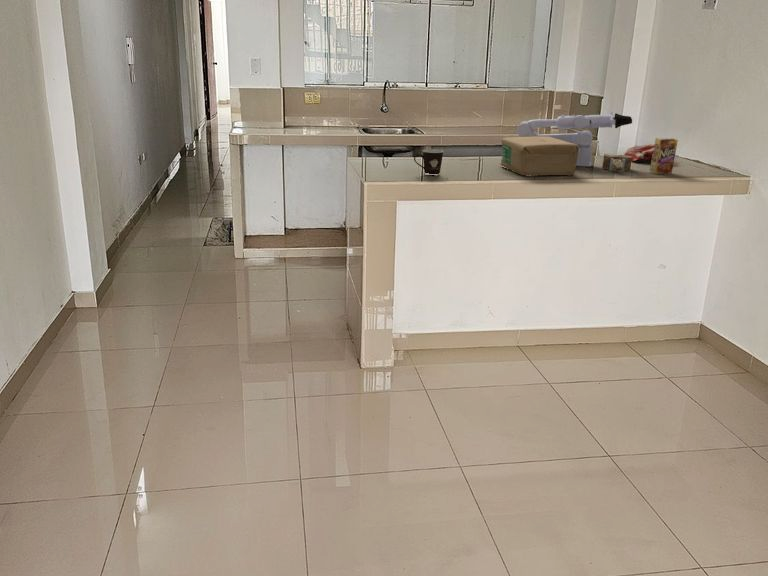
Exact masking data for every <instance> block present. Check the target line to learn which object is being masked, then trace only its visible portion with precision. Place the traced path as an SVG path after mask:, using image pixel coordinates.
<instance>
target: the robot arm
mask: <svg viewBox="0 0 768 576" xmlns="http://www.w3.org/2000/svg"><path fill="white" fill-rule="evenodd" d="M631 124H633V118H632V116H629V115H623V114H619V113H616V112H615V113H614V116H613V111H610V113H609V114H590V115H581V114H577V115H576V114H572V115H565V114H561V115H560V116H558V117H557V118H555V119H546V118H545V119H544V118H543V119H530V120H523V121H521V122H520V123H519V124H518V125H517V127H516V132H517V134H518V137H536V136H550V137H552V138H556V139H559V140H562V141H566V142H569V143H573V144H576V145H577V146H578V147H579V148H578V157H577V163H576V167H587V168H588V167H590V168H591V167H592V163H591V162H592V155H593V148H594V147H593V146H594V145H593V144H592V143H593V139H594V137H593V133H592V132H591V131H590V130H588V129H594V128H595V129H596V128H597V129H599V128H601V129H602V128H611V129H612V128H613V125H614V128H615V129H617V128H620V127H623V126H628V125H631ZM549 127H556V128H557V129H558V130H564V129H565V130H566V129H567V130H569V129H573V128H576V129H578V130H581V131H580V132H572V133H570V132H569V133H546V134H545V133H543V134H541V133H540V134H538V132H537V131H535V130H536V129H538V128H549ZM584 128H588V129H587V130H586V129H584ZM582 129H584V130H582Z"/></svg>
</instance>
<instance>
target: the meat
mask: <svg viewBox="0 0 768 576" xmlns="http://www.w3.org/2000/svg"><path fill="white" fill-rule="evenodd" d="M654 144H655V143H649V144H648V143H647V144H642V145H634V146H632V147H629V148H627V149H626V151H625V153H624V155H625V156H632V162H634V161H638V160H642V159H643V160H652V155H653V150H654Z"/></svg>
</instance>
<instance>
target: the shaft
mask: <svg viewBox="0 0 768 576" xmlns="http://www.w3.org/2000/svg"><path fill="white" fill-rule="evenodd" d="M623 168H624V165H623V163H622V162H621V160H613V165H612V169H613V171H612V172H615V173H622V172H621V171H622V170H623Z"/></svg>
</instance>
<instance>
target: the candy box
mask: <svg viewBox="0 0 768 576" xmlns="http://www.w3.org/2000/svg"><path fill="white" fill-rule="evenodd" d="M678 142H679V140H678V139H677V138H672V137H670V138H655V141H654V143H653V144H654V150H653V155H652V159H651V160H650V167H649V173H651V174H652V175H660V174H661V175H666V174H667V175H669V174H670V175H671V174H673V169H674V162H675V157H676V153H677V147H678Z"/></svg>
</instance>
